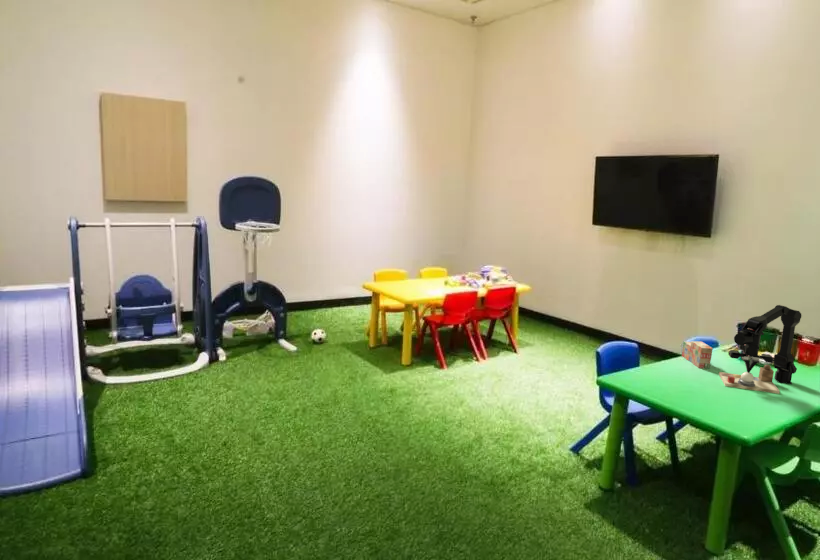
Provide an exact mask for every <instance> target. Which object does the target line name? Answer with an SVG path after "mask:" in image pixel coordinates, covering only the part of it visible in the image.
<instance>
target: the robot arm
mask: <svg viewBox="0 0 820 560" xmlns="http://www.w3.org/2000/svg"><path fill="white" fill-rule="evenodd" d="M778 318H780V321H781V322H782V325H783V327H782V333H781V340H780V346H779V347H780V348H779V351H778V352H777V353H776V354H774V356H773V357H772V355H771V354H767V353H761V355H759V350H760V343H761V336H764V335H765V334H764V332H763V331H764V330H765V329H767V328H768V325H769V324H771V323H772V322H774V321H775V320H776V319H778ZM801 319H802V313H801V311H800V310H796V309H792V308H790V307H787V306H785V305H781V304H776V306H775V307H774V308H772V309H770V310H768V311H766V312H764V313H763V314H762V315H759V316H753V317H751V318H748V319H747V321H746V322H745V324H744V325H743V326H742V328H741V329H740V331H739V330H738V333H736V334H735V335H734V337H733V341H734V342H735V344H737V345H738V350H734V349H730V350H729V351H728V356H729V357H730V358H731V359H740V358H741V360H742V361H743V362H744V363H745V368H746V372H748V373H749V372H750V373H751V371H752V369H753V368H754V367H755V366H756V365H757V364H760V360H764V362H765V363H767V364H768V363H769V364H773V367H774V369H776V370H775V371H774V372H775V373H774V380H775V381H776V382H777V383H781V384H789V385H792V377H793V375H794V374H795V373H797V370H798V368H797V367H796V364H795V363H794V362H795V359H794V356H793V354H792V350H793V349H792V348H793V343H794V335H795V329H796V326H798V325H799V323H800V322H801ZM740 351H742V352H740Z"/></svg>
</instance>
